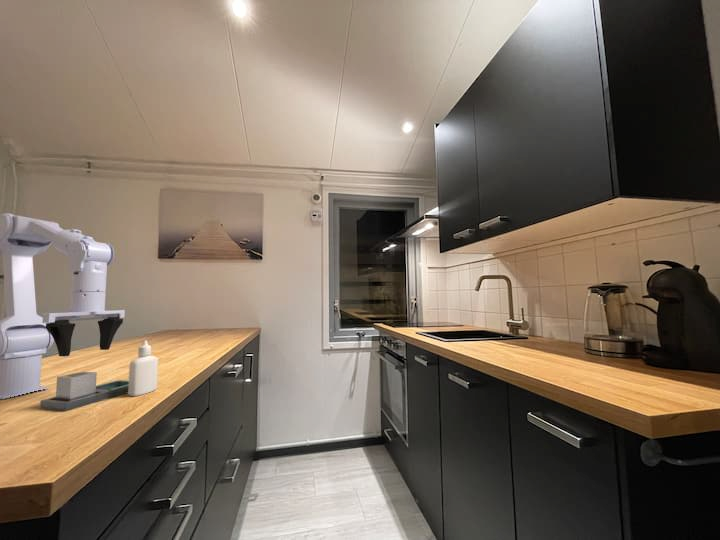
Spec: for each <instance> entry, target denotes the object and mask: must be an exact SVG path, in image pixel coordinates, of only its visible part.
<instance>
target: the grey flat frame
mask: <svg viewBox="0 0 720 540" xmlns="http://www.w3.org/2000/svg"><path fill="white" fill-rule="evenodd" d="M128 388H129V380H123V379H122V380H121V379H117V380H114V381H109V382H106V383H102V384H98V385H97V384H96V393H95V394H93V395H90V396H86V397H83V398H79V399H76V400H72V401H68V402H66V401H57V400H56V396H53V397H48V398H45V399H42V400H40V403H39V404H40V405H39V406H40V407H39V408H40V409H45V410H53V411H60V412H67V411H71V410H75V409H78V408H81V407H85V406H87V405H91V404H94V403H97V402H101V401H104V400H108V399H111V398H115V397H118V396H120V395H124V394H128V393H127V392H128ZM117 395H118V396H117ZM114 396H115V397H114Z"/></svg>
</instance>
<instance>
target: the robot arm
mask: <svg viewBox="0 0 720 540" xmlns="http://www.w3.org/2000/svg"><path fill="white" fill-rule="evenodd" d="M82 233H83V232H82V230H80V229H76V228H71V229H63V228H62V227H60V224H59V222H58V223H57V222H55V221H51V220H48V221H47V220H45V219H44V220H43V219H37V218H33V217H27V216H22V215H16V214H12V213H10V212H4V213H3V212H2V214H0V252H1V253H2V265H3V267H2V269H3V284H4V299H5V300H4V302H5V317H4V318H3V319H1V320H0V400H6V398H7V399H10V397H11V398H15V397H18V395H20V396H23V395H22V394H24V395H27V394H26V393H28V394H31V393H30V392H33V393H35V392H34V391H37V392H39V391H38V390H41V391H44V390H43V389H45V390H48V389H47V388H50V387H49V386H43V385H41V377H42V376H41V375H42V363H43V361H42V360H43V354H46V353H47V351H48V350H49V349H50V348H51V347H52V346H53V344H54V343H55V345H56V346H55V347H56V349H57V352H58V356H59V357H70V355H71V349H72V348H71V347H72V338H73V333H74V329H75V327H76V325H77V324H76V323H74V322H77V321H78V322H79V321H91V320H93V321H95V320H98V321H97V325H98V328H99V350H100V351H101V350H102V351H108V350H110V349H111V346H112V345H111V344H112V342H113V340H114V337H115V334H116V333H117V332H118V330H119V328H120V326H122V324H123V322H124V318H125V314H126V313H125V312H126V311H125V309H121V310H120V309H117V310H116V309H115V310H106V295H107V293H106V292H107V273H108V271H107V270H108V266H110V265H111V264H112V263H113V262H114V261H113V260H114V259H115V250H114V247H113V246H112V245H111V244H110V243H109V242H99V241H96V240H94V237H92V236H90V235H89V236H88V235H84V234H82ZM51 245H52V246H53V247H54V249H55V250H56V251H59V252H60V253H62V254H64V255H66V257H67V261H68V263H69V271H70V272H71V273H72V282H71V283H72V284H71V298H70V299H71V301H70V312H51V313H43V314H42V316H41V315H39V314H37V313H38V311H37V302H36V301H37V300H36V289H35V288H36V286H35V275H34V274H35V271H34V258H33V257H34V256H35V255H36V256H37V255H39V254H40V255H41V254H44V253H45V252H46V250H47V249H49V248H50V246H51ZM83 316H92V317H83ZM93 316H94V317H93ZM71 322H73V323H71ZM14 396H15V397H14Z"/></svg>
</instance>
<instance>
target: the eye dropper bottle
mask: <svg viewBox="0 0 720 540" xmlns="http://www.w3.org/2000/svg"><path fill="white" fill-rule="evenodd" d="M137 354H138V355H137V356H138V357H135V358H134V359H133V360H132V361H130V363H129V369H128V370H129V372H128V381H129V388H128V393H127V394H128V396H129V397H138V396H143V395H146V393H147V394H149V392H150V393H152V392H154V391H156V390H157V389H158V379H159V378H158V375H159V358H158V357H157V356H154V355H152V346H151V345H149V344H148V340H143V341H142V345H141V346H139V347H138V352H137Z"/></svg>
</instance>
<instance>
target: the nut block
mask: <svg viewBox="0 0 720 540" xmlns="http://www.w3.org/2000/svg"><path fill="white" fill-rule="evenodd" d="M97 373H98V372H96V371H95V372H94V371H79V372H74V373H70V374H65V375H60V376H57V377H56V378H57V379H56V387H55V388H56V389H55V397H56V400H57V401H66V402H68V401H72V400H76V399H79V398H83V397H86V396H90V395H93V394H95V393H96V386H97Z"/></svg>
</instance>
